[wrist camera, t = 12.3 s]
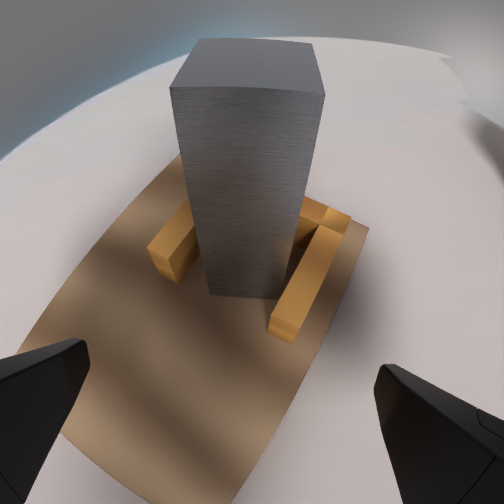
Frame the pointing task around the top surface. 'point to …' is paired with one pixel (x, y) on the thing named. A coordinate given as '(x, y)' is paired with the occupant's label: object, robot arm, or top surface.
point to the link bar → (247, 155)
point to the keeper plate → (190, 346)
